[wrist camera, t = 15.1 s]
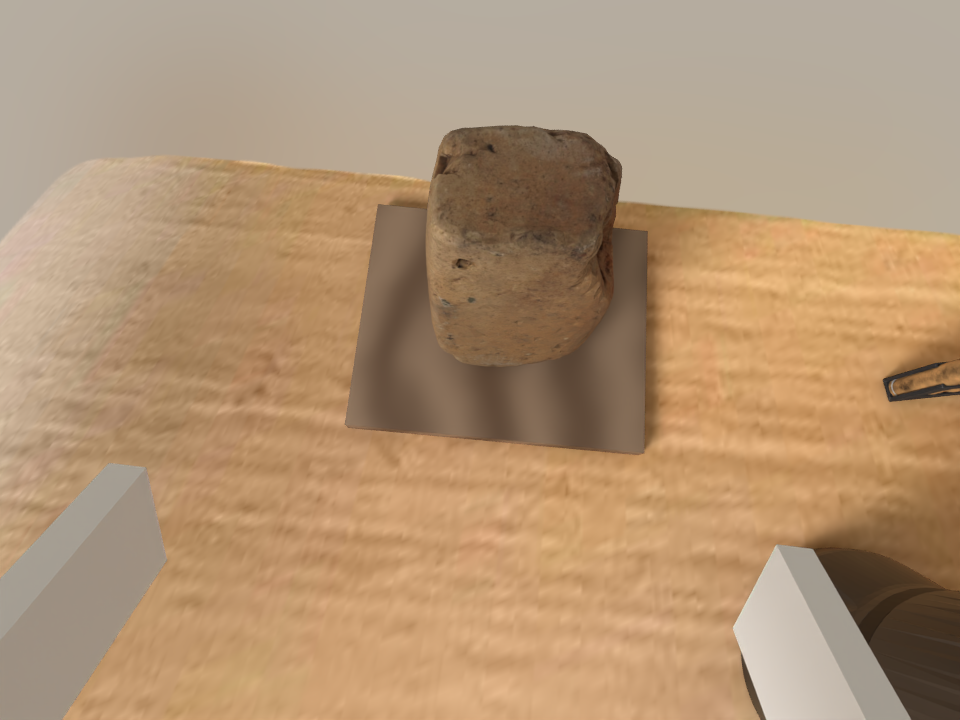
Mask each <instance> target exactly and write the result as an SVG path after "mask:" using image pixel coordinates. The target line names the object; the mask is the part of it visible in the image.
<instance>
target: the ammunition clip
mask: <svg viewBox="0 0 960 720" xmlns="http://www.w3.org/2000/svg"><path fill="white" fill-rule="evenodd" d="M883 382H884V385H885V389H886V392H887V396H888V399H889V401H890V402H892V401H902V400H912V399H921V398H931V397H941V396H951V395H960V359H957V360H954V361H951V362H942V363H934V364H931V365H928V366H925V367H921V368H918V369H915V370H911V371H908V372H905V373H901V374H898V375H895V376H891V377H888V378H885V379H883Z"/></svg>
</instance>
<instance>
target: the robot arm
mask: <svg viewBox="0 0 960 720" xmlns="http://www.w3.org/2000/svg"><path fill="white" fill-rule="evenodd" d="M166 561H167V558H166V553H165V549H164V544H163V540H162V536H161V531H160V527H159V522H158V518H157V513H156V509H155V504H154V500H153V495H152V491H151V487H150V482H149V478H148V473H147V469H146V467H138V466H129V465H121V464H113V463H108V465H107V466H106V467H105V468H104V469H103V470H102V471H101V472H100V473H99V474H98V475H97V476H96V477H95V478H94V479H93V481H92V482H91V483H90V484H89V485H88V486H87V487H86V488H85V489H84V490H83V491H82V492H81V493H80V494H79V495H78V496H77V498H76V499H75V500H74V501H73V502H72V503H71V504H70V505H69V506H68V507H67V508H66V509H65V510H64V511H63V512H62V513H61V515H60V516H59V517H58V518H57V519H56V520H55V521H54V522H53V523H52V524H51V525H50V526H49V527H48V528H47V529H46V531H45V532H44V533H43V534H42V535H41V536H40V537H39V538H38V539H37V540H36V541H35V542H34V543H33V544H32V545H31V546H30V548H29V549H28V550H27V551H26V552H25V553H24V554H23V555H22V556H21V557H20V558H19V559H18V560H17V561H16V562H15V564H14V565H13V566H12V567H11V568H10V569H9V570H8V571H7V572H6V573H5V574H4V575H3V576H2V577H1V578H0V720H62V719H63V718H64V716H65V715H66V713H67V712H68V710H69V709H70V707H71V705H72V704H73V702H74V701H75V699H76V698H77V696H78V695H79V693H80V692H81V690H82V689H83V687H84V686H85V684H86V683H87V681H88V680H89V678H90V677H91V675H92V673H93V672H94V670H95V669H96V667H97V666H98V664H99V663H100V661H101V660H102V658H103V657H104V655H105V654H106V652H107V651H108V649H109V648H110V646H111V645H112V643H113V642H114V640H115V638H116V637H117V635H118V634H119V632H120V631H121V629H122V628H123V626H124V625H125V623H126V622H127V620H128V619H129V617H130V616H131V614H132V613H133V611H134V610H135V608H136V607H137V605H138V603H139V602H140V600H141V599H142V597H143V596H144V594H145V593H146V591H147V590H148V588H149V587H150V585H151V584H152V582H153V581H154V579H155V578H156V576H157V575H158V573H159V572H160V570H161V568H162V567H163V565H164V564H165V562H166ZM733 630H734V633H735V636H736V638H737V641H738V644H739V647H740V649H741V657H742V667H743V673H744V678H745V682H746V686H747V689H748V692H749V695H750V698H751V700H752V703H753V705H754V707H755V709H756V711H757V713H758V715H759V717H760V719H761V720H960V591H951V590H946V589H945V588H943V587H941V586H940V585H938V584H936V583H934V582H933V581H931V580H929V579H927V578H926V577H924V576H922V575H921V574H919V573H917V572H915V571H914V570H912V569H910V568H909V567H907V566H905V565H903V564H901V563H899V562H897V561H895V560H893V559H890V558H888V557H885V556H882V555H879V554H875V553H872V552H867V551H862V550H854V549H843V548H821V549H814V550H813V549H810V548H802V547H793V546H785V545H777V544H776V546H775V548H774V550H773V552H772V554H771V556H770V558H769V560H768V562H767V563H766V565H765V567H764V569H763V571H762V573H761V575H760V577H759V579H758V581H757V583H756V584H755V586H754V588H753V590H752V592H751V594H750V596H749V598H748V600H747V602H746V604H745V605H744V607H743V609H742V611H741V613H740V615H739V617H738V619H737V621H736V623H735V625H734V627H733Z"/></svg>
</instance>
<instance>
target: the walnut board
mask: <svg viewBox="0 0 960 720" xmlns="http://www.w3.org/2000/svg"><path fill="white" fill-rule="evenodd" d="M426 222H427V209H421V208H411V207H401V206H391V205H381V204H378V208H377V215H376V222H375V228H374V235H373V241H372V248H371V255H370V261H369V268H368V275H367V281H366V288H365V294H364V301H363V308H362V314H361V321H360V328H359V334H358V341H357V347H356V354H355V361H354V367H353V374H352V380H351V387H350V394H349V400H348V407H347V414H346V420H345V425H346V426H347V427H348V428H358V429H368V430H379V431H390V432H400V433H411V434H421V435H432V436H442V437H453V438H464V439H474V440H485V441H495V442H506V443H517V444H527V445H538V446H548V447H559V448H569V449H580V450H591V451H601V452H612V453H622V454H633V455H639V454H643V453H644V435H645V369H646V302H647V235H648V231H639V230H629V229H619V228H613V232H612V241H611V242H612V245H613V274H614V293H613V297H612V300H611V302H610V305H609V307H608V309H607V311H606V313H605V315H604V316H603V318H602V320H601V321H600V323H599V324H598V325H597V326H596V328H595V329H594V331H593V332H592V333H591V334H590V336H589V337H588V338H587V339H586V341H585V342H584V343H583V344H582V345H581V346H580V347H579V348H578V349H577V350H575V351H574V352H572V353H571V354H568V355H565V356H563V357H561V358H559V359H556V360H547V361H543V362H539V363H535V364H523V365H520V366H507V367H495V366H478V365H471V364H465V363H462V362H460V361H458V360H457V359H455V358H454V356H453V355H452V354H450V353H447V352H446V351H444V350H443V349H442V348H441V347H440V345H439V344H438V341H437V338H436V334H435V331H434V328H433V324H432V318H431V308H430V300H429V292H428V280H427V266H426Z"/></svg>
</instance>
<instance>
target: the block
mask: <svg viewBox="0 0 960 720" xmlns="http://www.w3.org/2000/svg"><path fill="white" fill-rule="evenodd" d="M621 178H622V166H621V164H620V162H619V161H618V160H617V159H615V158H614V157H612V156H611V155H609V154H608V152H607V151H606V149H605V148H604V147H603V146H602V145H600V144H599V143H597V142H596V141H595V140H594V139H593V138H591V137H590V136H589V135H588V134H585V133H580V132H575V131H568V130H548V129H542V128H538V127H534V126H533V127H523V126H516V125H515V126H490V127H477V128H461V129H457V130H454V131H451V132H449V133H448V134H447V135H445V136H444V138H443V140H442V142H441V145H440V146H439V150H438V155H437V160H436V164H435V168H434V172H433V176H432V180H431V185H430V191H429V199H428V208H427V222H426V266H427V280H428V292H429V300H430V308H431V318H432V324H433V328H434V331H435V334H436V338H437V341H438V344H439V345H440V347H441V348H442V349H443V350H444V351H446V352H447V353H450V354H452V355H453V356H454V358H455V359H457V360H458V361H460V362H462V363H465V364H471V365H478V366H495V367H507V366H520V365H523V364H535V363H539V362H543V361H547V360H556V359H559V358H561V357H563V356H565V355H568V354H571V353H572V352H574V351H575V350H577V349H578V348H579V347H580V346H581V345H582V344H583V343H584V342H585V341H586V339H587V338H588V337H589V336H590V334H591V333H592V332H593V331H594V329H595V328H596V326H597V325H598V324H599V323H600V321H601V320H602V318H603V316H604V315H605V313H606V311H607V309H608V307H609V305H610V302H611V300H612V297H613V293H614V274H613V245H612V242H611V241H612V232H613V224H614V220H615V217H616V204H617V203H618V197H619V190H620V184H621Z"/></svg>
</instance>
